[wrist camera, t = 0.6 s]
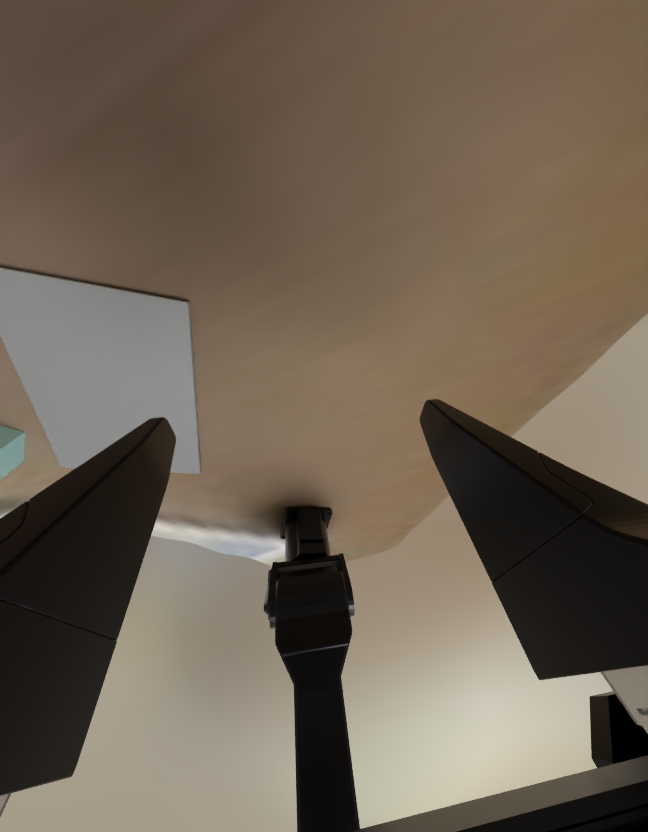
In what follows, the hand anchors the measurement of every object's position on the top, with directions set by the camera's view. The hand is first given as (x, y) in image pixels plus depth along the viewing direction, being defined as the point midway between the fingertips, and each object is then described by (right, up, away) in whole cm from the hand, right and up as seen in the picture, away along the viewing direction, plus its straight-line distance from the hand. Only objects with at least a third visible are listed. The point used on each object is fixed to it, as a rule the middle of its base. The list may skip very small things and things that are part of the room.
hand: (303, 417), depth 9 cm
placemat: (-18, +2, +13) cm, 22 cm away
